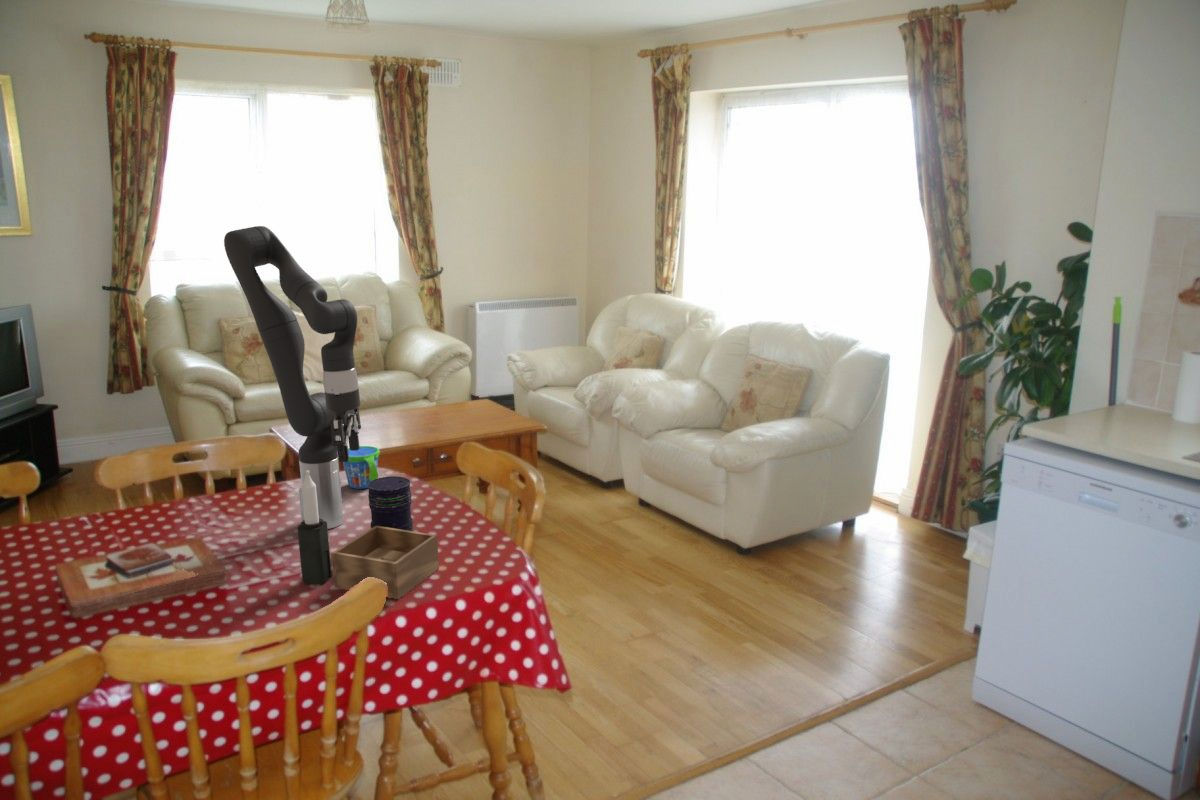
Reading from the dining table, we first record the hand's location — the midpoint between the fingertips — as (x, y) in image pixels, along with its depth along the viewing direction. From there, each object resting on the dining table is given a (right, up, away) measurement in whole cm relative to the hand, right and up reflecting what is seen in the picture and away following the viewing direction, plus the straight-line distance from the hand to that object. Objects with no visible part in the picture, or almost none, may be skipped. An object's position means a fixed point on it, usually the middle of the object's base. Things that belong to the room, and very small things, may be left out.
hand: (349, 455), depth 209 cm
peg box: (+12, -26, -13) cm, 31 cm away
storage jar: (+9, -21, +6) cm, 24 cm away
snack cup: (-9, -11, +45) cm, 47 cm away
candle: (-3, -26, -14) cm, 30 cm away
